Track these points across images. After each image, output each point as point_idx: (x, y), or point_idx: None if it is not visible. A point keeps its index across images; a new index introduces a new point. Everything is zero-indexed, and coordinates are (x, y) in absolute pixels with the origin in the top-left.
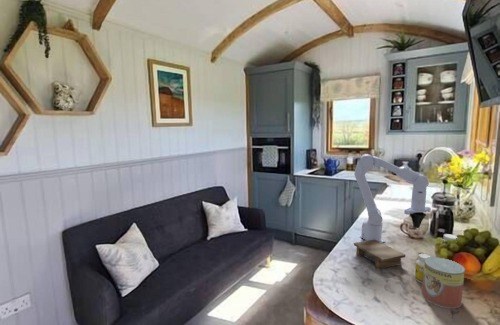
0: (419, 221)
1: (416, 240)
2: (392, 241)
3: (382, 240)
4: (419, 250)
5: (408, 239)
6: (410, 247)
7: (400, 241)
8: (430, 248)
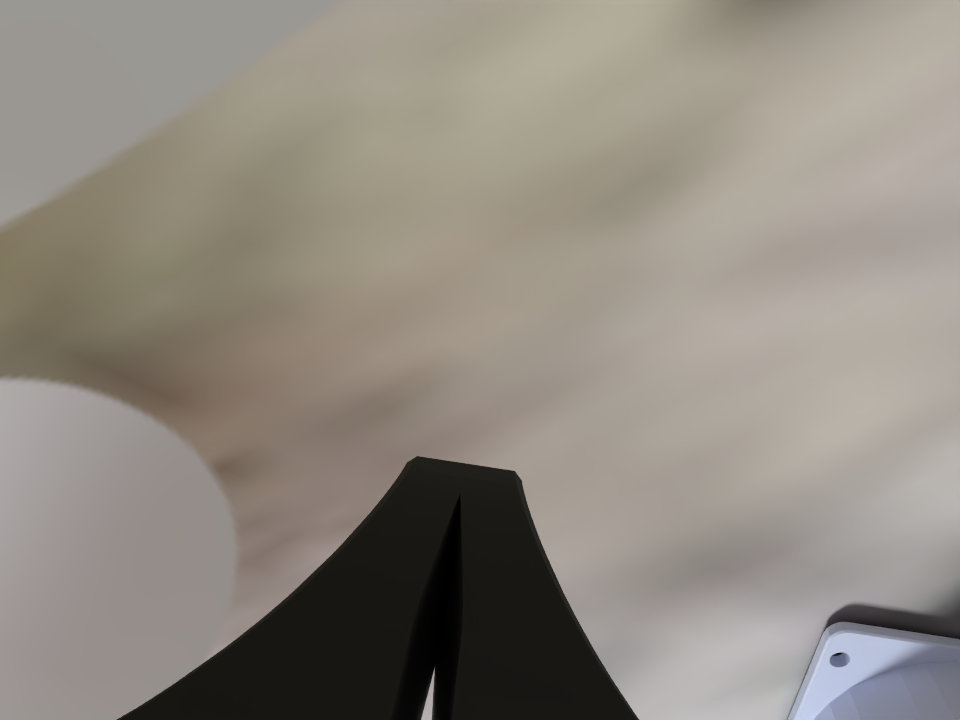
0: (479, 634)
1: (214, 407)
2: (676, 580)
3: (854, 668)
4: (638, 87)
5: (317, 500)
6: (652, 274)
7: (544, 517)
8: (307, 30)
